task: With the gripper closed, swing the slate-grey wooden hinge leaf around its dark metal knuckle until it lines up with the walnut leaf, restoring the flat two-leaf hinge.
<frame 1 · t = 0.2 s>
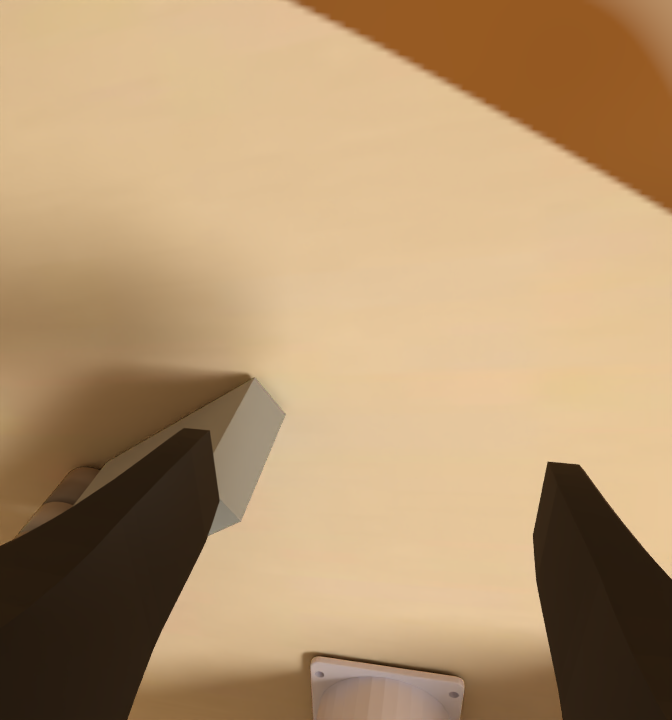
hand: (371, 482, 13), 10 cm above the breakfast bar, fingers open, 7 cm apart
fixed leaf: (98, 487, 29), on the breakfast bar
swing leaf: (132, 501, 24), point 3 cm above the breakfast bar, hinge at -55.0°
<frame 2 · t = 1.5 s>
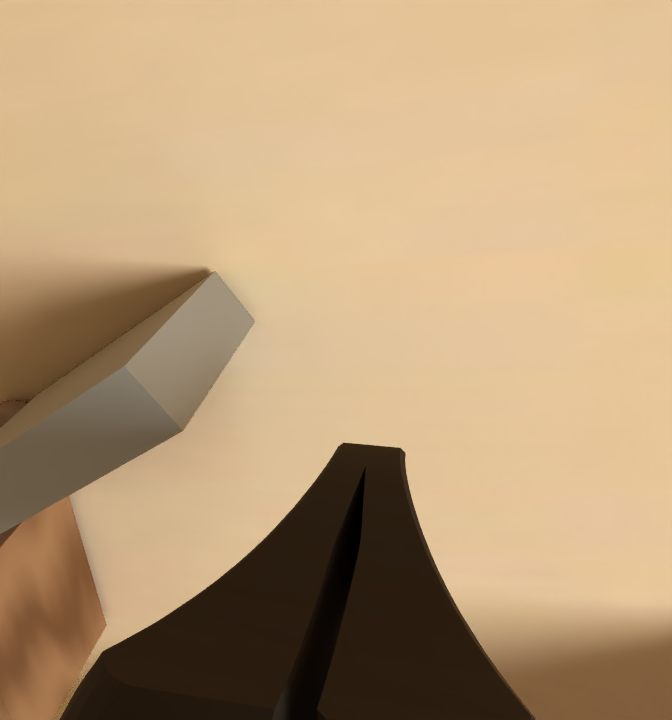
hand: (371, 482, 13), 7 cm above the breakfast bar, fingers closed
fixed leaf: (32, 429, 24), on the breakfast bar
swing leaf: (59, 430, 19), point 3 cm above the breakfast bar, hinge at -55.0°
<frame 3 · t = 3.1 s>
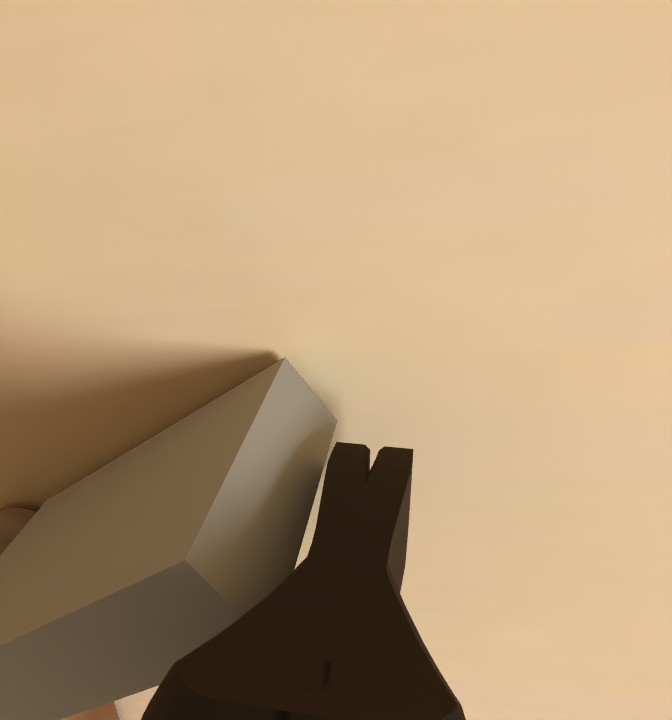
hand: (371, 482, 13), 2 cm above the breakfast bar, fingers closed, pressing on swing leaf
fixed leaf: (39, 537, 19), on the breakfast bar
swing leaf: (76, 574, 14), point 3 cm above the breakfast bar, hinge at -54.6°, touching gripper
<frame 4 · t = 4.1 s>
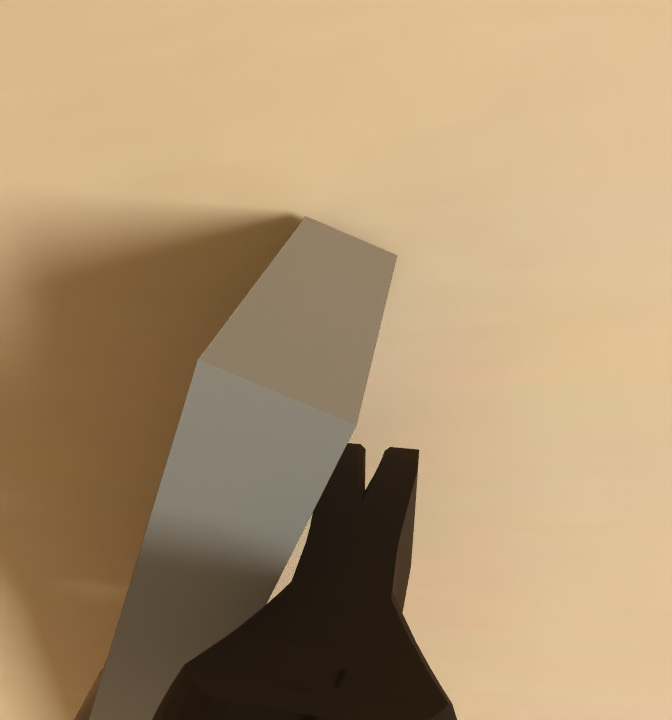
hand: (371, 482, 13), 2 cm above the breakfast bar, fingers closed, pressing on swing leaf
fixed leaf: (218, 560, 18), on the breakfast bar
swing leaf: (223, 541, 13), point 3 cm above the breakfast bar, hinge at -22.1°, touching gripper
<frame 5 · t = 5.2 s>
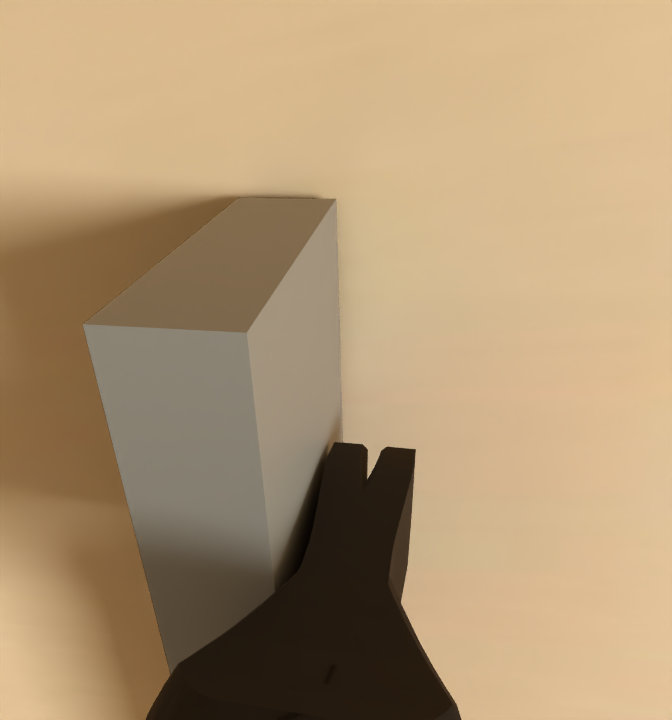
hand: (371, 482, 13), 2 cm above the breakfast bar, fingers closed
swing leaf: (272, 536, 13), point 3 cm above the breakfast bar, hinge at 0.7°, touching gripper
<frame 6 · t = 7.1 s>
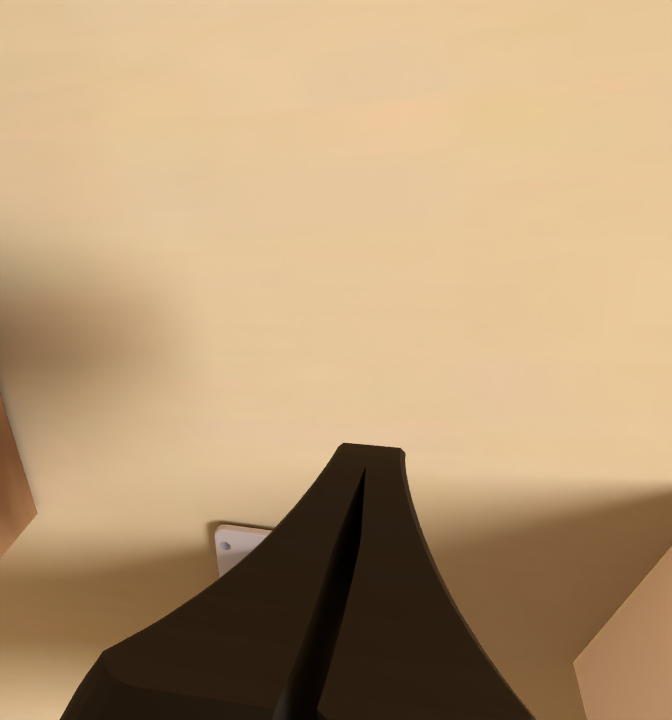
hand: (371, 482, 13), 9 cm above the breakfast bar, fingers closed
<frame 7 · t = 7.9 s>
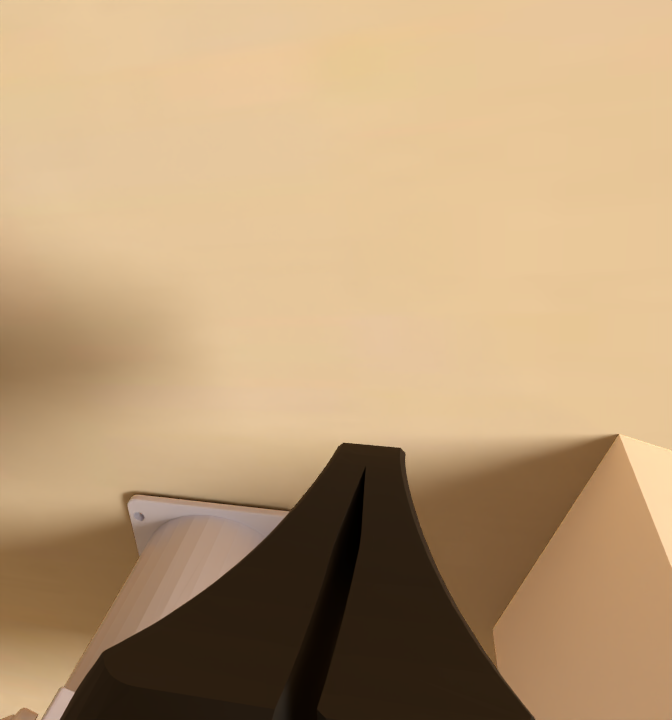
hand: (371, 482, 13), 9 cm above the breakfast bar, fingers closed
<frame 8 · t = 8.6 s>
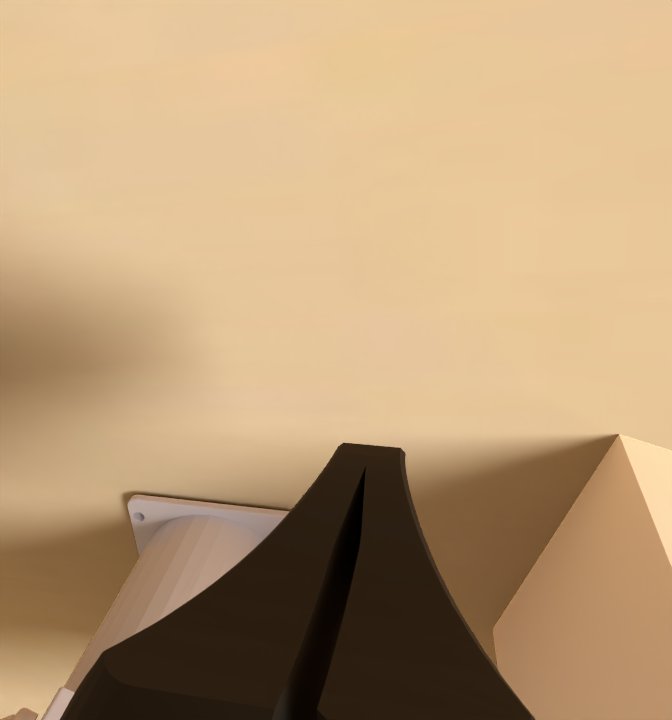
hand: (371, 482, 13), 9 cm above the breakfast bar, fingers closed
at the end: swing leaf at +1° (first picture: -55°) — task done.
